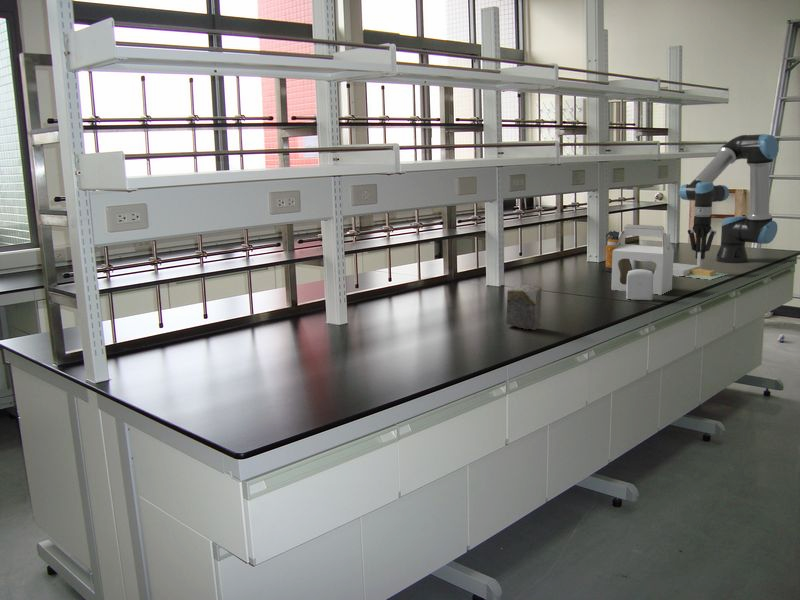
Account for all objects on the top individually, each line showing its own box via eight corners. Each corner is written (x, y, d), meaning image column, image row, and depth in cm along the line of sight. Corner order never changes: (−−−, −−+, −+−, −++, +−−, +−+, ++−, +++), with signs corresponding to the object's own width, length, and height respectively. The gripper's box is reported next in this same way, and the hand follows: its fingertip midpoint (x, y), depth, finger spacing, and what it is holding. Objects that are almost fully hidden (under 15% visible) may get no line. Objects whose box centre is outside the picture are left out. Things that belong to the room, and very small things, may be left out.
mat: (702, 272, 353) (702, 271, 353) (727, 274, 345) (727, 274, 345) (685, 277, 341) (685, 276, 341) (710, 280, 333) (710, 279, 333)
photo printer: (625, 300, 296) (627, 269, 293) (625, 297, 300) (627, 268, 297) (652, 301, 293) (654, 270, 290) (652, 299, 297) (653, 268, 294)
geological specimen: (505, 327, 256) (506, 285, 253) (513, 324, 261) (513, 283, 258) (534, 331, 250) (535, 288, 247) (541, 327, 255) (542, 285, 252)
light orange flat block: (691, 274, 346) (691, 270, 346) (697, 272, 350) (697, 268, 350) (709, 276, 340) (710, 272, 339) (715, 274, 344) (715, 270, 343)
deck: (673, 268, 364) (673, 262, 364) (700, 271, 354) (701, 265, 353) (655, 273, 352) (655, 267, 352) (683, 277, 342) (683, 270, 342)
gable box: (610, 290, 317) (612, 225, 311) (622, 285, 327) (624, 222, 321) (662, 295, 303) (665, 228, 297) (672, 290, 313) (676, 225, 307)
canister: (612, 273, 355) (614, 232, 351) (598, 270, 365) (600, 230, 361) (628, 272, 358) (629, 231, 354) (613, 268, 368) (615, 229, 364)
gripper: (685, 215, 343) (682, 265, 348) (712, 217, 334) (709, 268, 339) (692, 214, 348) (689, 263, 353) (720, 215, 339) (716, 266, 344)
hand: (699, 265), depth 346 cm, fingers closed
